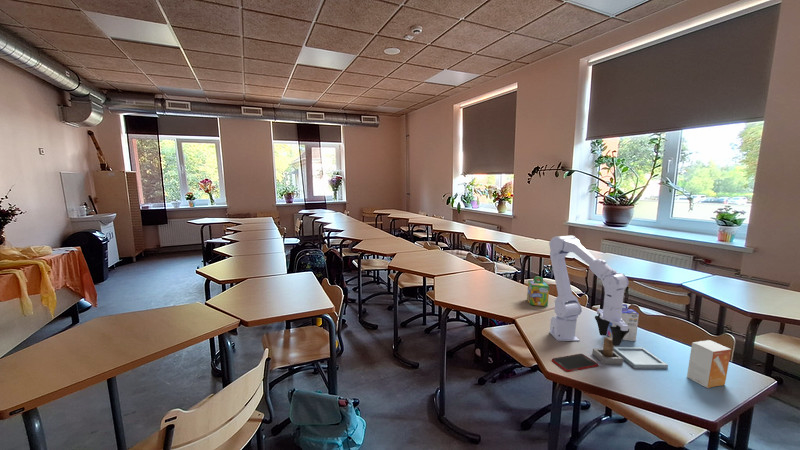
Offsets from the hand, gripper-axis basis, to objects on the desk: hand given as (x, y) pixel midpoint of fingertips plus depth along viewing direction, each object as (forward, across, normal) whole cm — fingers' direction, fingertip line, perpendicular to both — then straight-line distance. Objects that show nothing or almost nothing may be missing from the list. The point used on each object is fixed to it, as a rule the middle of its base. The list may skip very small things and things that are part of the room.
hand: (609, 340), depth 118 cm
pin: (+8, 0, 0) cm, 8 cm away
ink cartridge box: (+8, -17, +17) cm, 25 cm away
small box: (+8, +13, +25) cm, 29 cm away
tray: (+8, 0, +12) cm, 14 cm away
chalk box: (+8, -55, -3) cm, 56 cm away
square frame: (+8, 0, 0) cm, 8 cm away
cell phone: (+8, +3, -14) cm, 16 cm away
